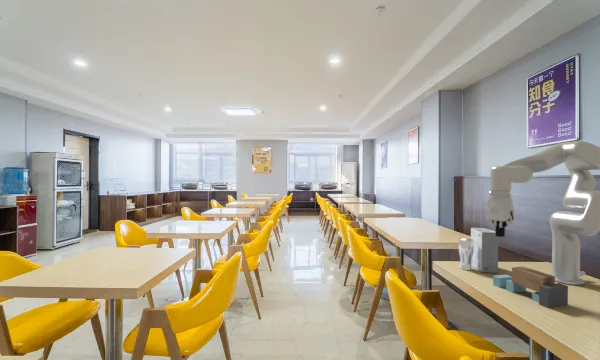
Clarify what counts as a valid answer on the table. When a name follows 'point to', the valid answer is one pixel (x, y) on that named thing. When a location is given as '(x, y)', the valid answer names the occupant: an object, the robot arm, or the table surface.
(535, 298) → the batten
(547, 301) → the block
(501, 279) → the block
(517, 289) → the block
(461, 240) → the beer glass
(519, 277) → the slab
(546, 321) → the table surface
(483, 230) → the hard drive box
